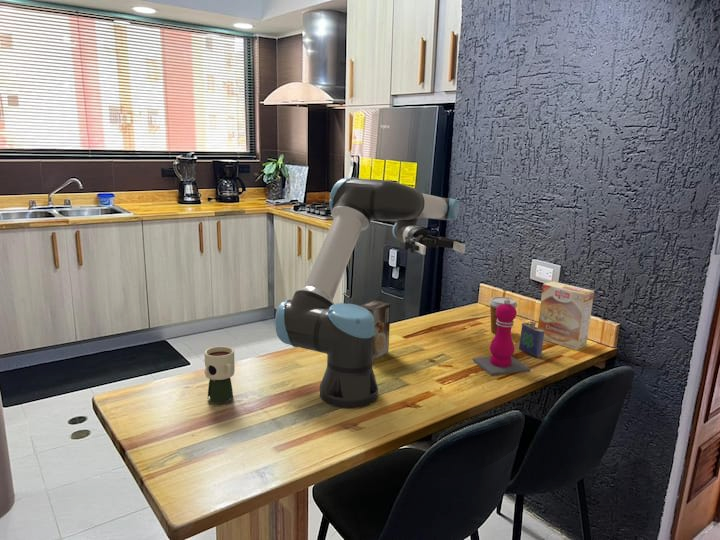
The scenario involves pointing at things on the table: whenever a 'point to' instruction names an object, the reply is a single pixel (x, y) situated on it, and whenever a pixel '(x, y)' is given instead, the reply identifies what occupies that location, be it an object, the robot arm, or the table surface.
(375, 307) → the coffee box
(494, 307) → the disposable coffee cup
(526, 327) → the flask
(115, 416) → the table surface
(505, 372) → the charcoal mat
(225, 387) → the character mug
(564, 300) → the coffeecake box
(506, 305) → the pepper mill
